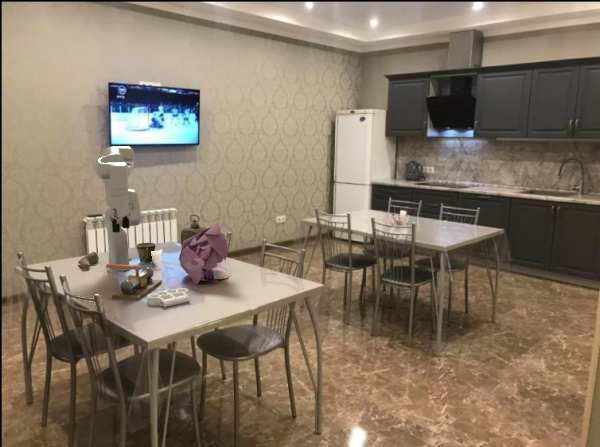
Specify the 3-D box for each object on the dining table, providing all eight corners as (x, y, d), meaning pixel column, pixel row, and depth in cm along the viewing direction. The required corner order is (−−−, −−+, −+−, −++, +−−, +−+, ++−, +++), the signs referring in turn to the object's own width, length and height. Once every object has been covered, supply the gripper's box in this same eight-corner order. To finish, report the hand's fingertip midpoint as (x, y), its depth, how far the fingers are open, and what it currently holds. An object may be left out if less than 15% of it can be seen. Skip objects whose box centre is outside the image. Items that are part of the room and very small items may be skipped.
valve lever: (109, 266, 221) (108, 263, 221) (141, 268, 219) (141, 265, 219) (105, 268, 219) (105, 265, 218) (138, 270, 217) (138, 266, 216)
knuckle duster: (156, 311, 197) (142, 301, 208) (197, 301, 208) (182, 292, 219) (156, 303, 196) (142, 293, 208) (197, 294, 207) (181, 285, 219)
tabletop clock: (210, 258, 276) (209, 215, 271) (199, 262, 268) (197, 217, 264) (191, 255, 283) (190, 212, 279) (180, 258, 276) (178, 214, 271)
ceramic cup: (135, 261, 269) (135, 243, 267) (154, 259, 273) (154, 241, 271) (138, 267, 257) (138, 248, 255) (158, 265, 261) (157, 247, 260)
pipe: (80, 262, 248) (101, 256, 253) (75, 254, 262) (95, 249, 267) (83, 274, 250) (104, 268, 255) (78, 266, 264) (98, 260, 268)
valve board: (137, 281, 233) (137, 278, 232) (161, 283, 231) (161, 280, 231) (111, 298, 209) (111, 295, 209) (138, 300, 208) (138, 296, 207)
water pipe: (142, 279, 231) (141, 262, 229) (154, 280, 230) (154, 263, 229) (119, 294, 210) (118, 276, 208) (132, 295, 209) (131, 276, 207)
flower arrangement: (241, 291, 237) (254, 234, 233) (197, 291, 221) (210, 231, 217) (206, 268, 262) (217, 217, 259) (165, 266, 247) (176, 212, 243)
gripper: (120, 189, 228) (122, 226, 232) (101, 194, 212) (103, 233, 215) (136, 190, 228) (137, 226, 231) (117, 195, 211) (119, 234, 214)
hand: (121, 230), depth 223 cm, fingers open, 8 cm apart
